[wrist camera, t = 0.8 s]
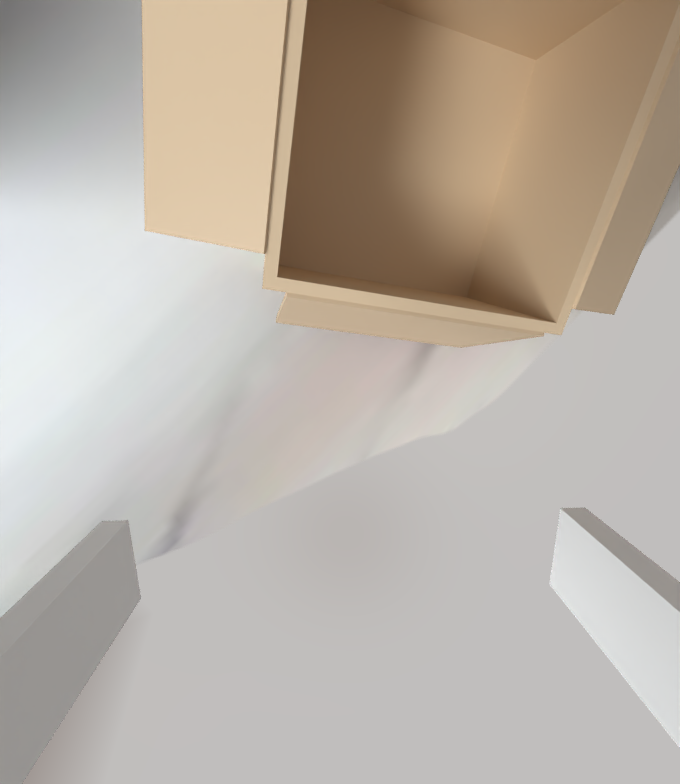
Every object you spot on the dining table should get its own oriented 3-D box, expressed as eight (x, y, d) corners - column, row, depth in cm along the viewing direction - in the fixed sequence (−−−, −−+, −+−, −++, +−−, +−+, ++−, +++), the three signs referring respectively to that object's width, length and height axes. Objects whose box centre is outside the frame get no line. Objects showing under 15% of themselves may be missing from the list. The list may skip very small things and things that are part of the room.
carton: (512, 348, 43) (617, 394, 30) (180, 301, 34) (129, 338, 22) (606, 80, 34) (814, -18, 21) (187, -75, 25) (106, -401, 12)
